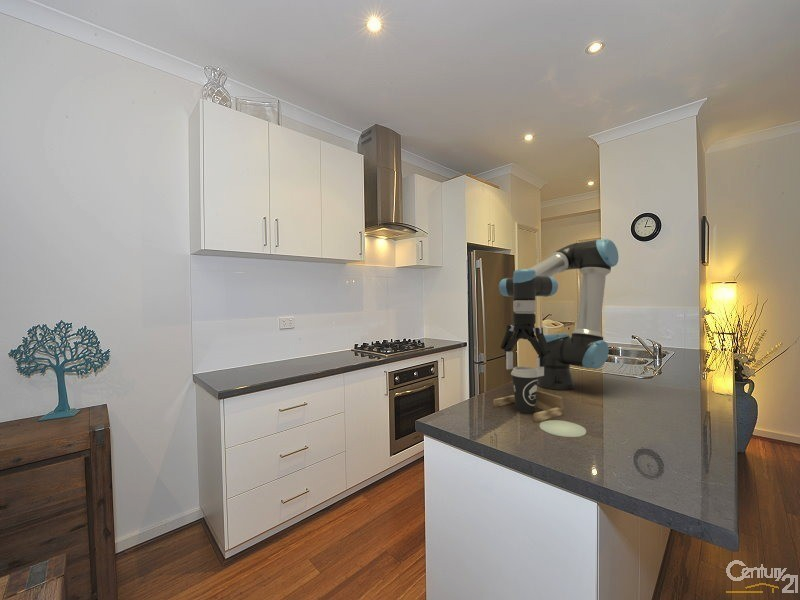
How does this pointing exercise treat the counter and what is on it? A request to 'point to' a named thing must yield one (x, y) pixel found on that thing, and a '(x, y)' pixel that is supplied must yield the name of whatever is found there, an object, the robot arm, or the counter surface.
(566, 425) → the coaster
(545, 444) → the counter surface
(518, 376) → the coffee cup
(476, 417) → the counter surface
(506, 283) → the robot arm
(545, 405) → the shelf bay
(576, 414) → the counter surface
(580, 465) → the counter surface
